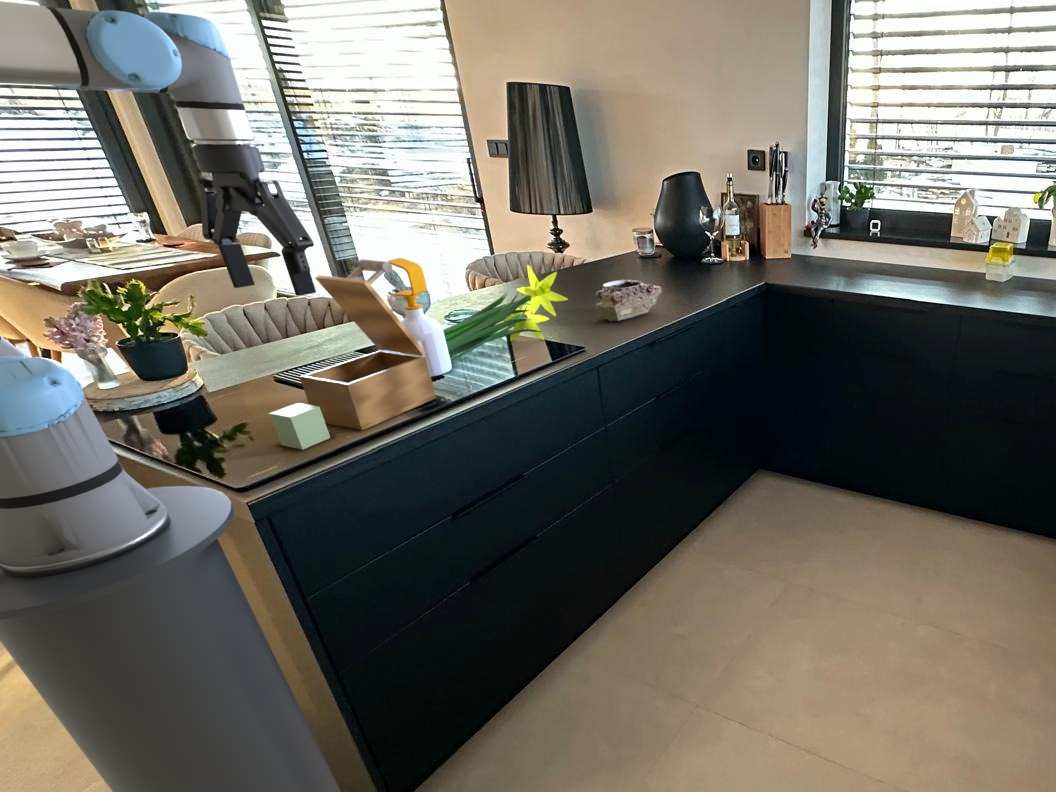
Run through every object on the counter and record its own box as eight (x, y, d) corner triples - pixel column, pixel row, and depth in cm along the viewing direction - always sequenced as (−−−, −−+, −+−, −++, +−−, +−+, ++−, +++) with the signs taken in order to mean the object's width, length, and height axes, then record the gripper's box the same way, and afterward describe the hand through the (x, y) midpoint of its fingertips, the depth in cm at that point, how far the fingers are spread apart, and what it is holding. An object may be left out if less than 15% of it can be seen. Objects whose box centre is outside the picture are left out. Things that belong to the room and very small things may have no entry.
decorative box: (587, 316, 185) (582, 283, 180) (642, 305, 198) (639, 274, 194) (613, 325, 177) (609, 290, 173) (669, 312, 191) (666, 280, 186)
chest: (362, 430, 113) (347, 384, 109) (315, 421, 116) (298, 376, 112) (436, 398, 127) (425, 356, 123) (392, 390, 130) (380, 349, 126)
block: (302, 449, 105) (290, 417, 103) (281, 445, 107) (268, 413, 104) (330, 437, 110) (319, 406, 107) (309, 433, 111) (298, 402, 108)
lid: (363, 283, 109) (394, 254, 113) (314, 277, 112) (346, 249, 116) (423, 355, 122) (449, 327, 127) (378, 349, 125) (405, 321, 130)
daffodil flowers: (421, 354, 153) (543, 295, 172) (457, 394, 151) (578, 329, 169) (402, 308, 139) (538, 249, 157) (442, 351, 137) (576, 285, 155)
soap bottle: (424, 363, 145) (395, 254, 134) (460, 366, 144) (434, 256, 133) (397, 376, 137) (364, 262, 126) (435, 379, 136) (405, 264, 125)
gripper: (312, 145, 90) (355, 292, 100) (193, 140, 97) (244, 279, 106) (258, 145, 84) (309, 302, 94) (135, 140, 91) (194, 287, 100)
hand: (274, 290), depth 100 cm, fingers open, 13 cm apart
